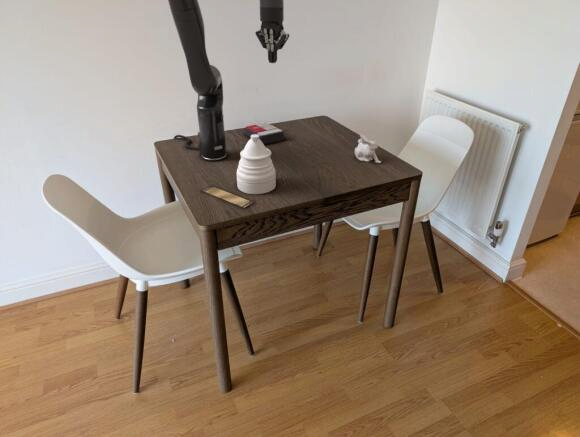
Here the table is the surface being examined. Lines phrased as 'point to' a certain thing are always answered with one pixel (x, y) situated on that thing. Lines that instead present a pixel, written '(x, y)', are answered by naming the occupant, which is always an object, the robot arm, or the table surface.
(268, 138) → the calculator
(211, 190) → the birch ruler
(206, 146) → the robot arm
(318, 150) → the table surface
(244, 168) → the honey pot
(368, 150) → the white lumpy figure
